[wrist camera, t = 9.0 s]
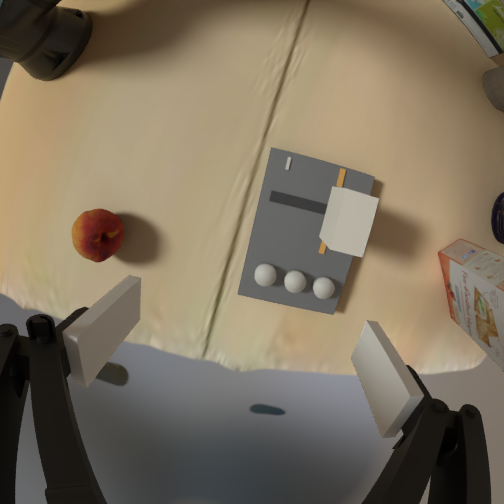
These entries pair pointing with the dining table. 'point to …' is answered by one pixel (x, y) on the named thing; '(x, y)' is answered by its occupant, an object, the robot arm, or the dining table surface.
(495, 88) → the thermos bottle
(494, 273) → the cracker box
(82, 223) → the fruit
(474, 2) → the tea box
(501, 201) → the black striped canister
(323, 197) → the console
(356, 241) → the block
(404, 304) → the dining table surface
